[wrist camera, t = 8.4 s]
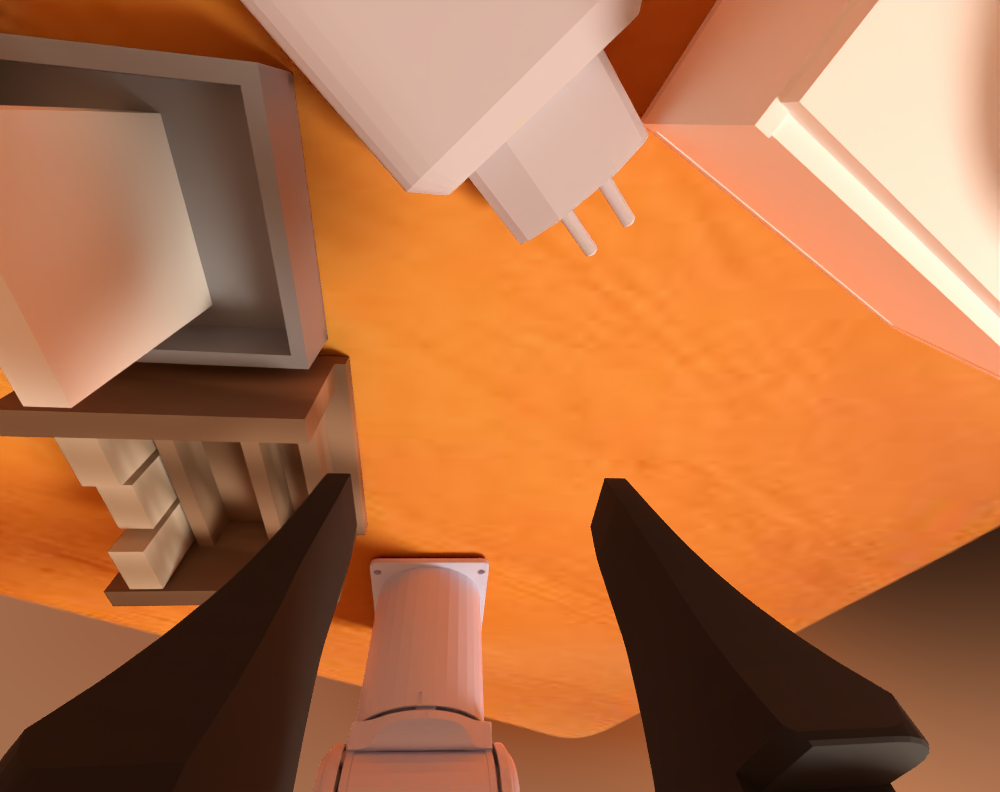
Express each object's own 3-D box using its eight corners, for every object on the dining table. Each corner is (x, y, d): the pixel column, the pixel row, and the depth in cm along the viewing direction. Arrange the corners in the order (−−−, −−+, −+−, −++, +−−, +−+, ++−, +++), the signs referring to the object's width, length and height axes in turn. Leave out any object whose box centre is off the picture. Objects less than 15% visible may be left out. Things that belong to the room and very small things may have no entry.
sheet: (212, 304, 19) (71, 407, 12) (182, 303, 19) (23, 406, 12) (160, 113, 15) (-87, 106, 8) (122, 109, 15) (-159, 99, 8)
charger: (512, 293, 20) (213, -63, 13) (689, 148, 17) (428, -390, 11) (525, 335, 16) (106, -143, 9) (757, 156, 13) (408, -696, 7)
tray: (327, 338, 20) (308, 369, 18) (93, 326, 19) (37, 357, 17) (292, 72, 15) (257, 62, 13) (-37, 34, 14) (-148, 16, 11)
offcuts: (208, 518, 25) (162, 588, 21) (180, 518, 25) (130, 589, 21) (155, 382, 20) (84, 442, 16) (120, 380, 20) (40, 441, 16)
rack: (367, 524, 27) (348, 603, 23) (164, 523, 26) (102, 606, 22) (349, 356, 21) (318, 419, 17) (79, 344, 20) (-33, 408, 15)
